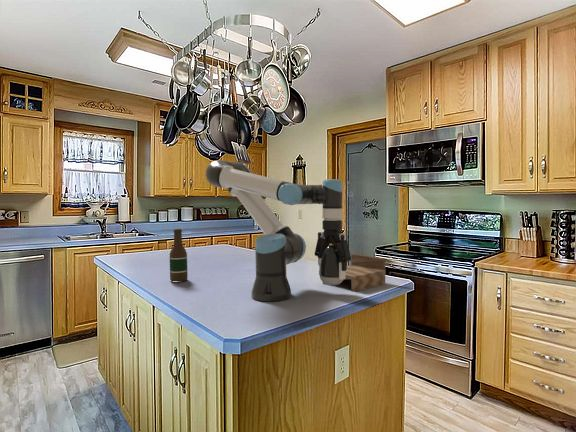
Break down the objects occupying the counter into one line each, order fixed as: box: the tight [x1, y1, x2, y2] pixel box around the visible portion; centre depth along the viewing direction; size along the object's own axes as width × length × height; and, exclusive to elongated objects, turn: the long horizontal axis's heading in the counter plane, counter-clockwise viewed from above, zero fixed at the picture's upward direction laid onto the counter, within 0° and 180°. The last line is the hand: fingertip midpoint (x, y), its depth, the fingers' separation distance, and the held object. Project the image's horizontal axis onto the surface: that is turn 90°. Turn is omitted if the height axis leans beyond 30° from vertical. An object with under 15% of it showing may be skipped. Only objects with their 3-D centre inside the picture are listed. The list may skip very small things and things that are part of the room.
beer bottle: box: [169, 228, 189, 282], centre depth 165 cm, size 8×8×24 cm
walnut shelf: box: [322, 253, 386, 293], centre depth 154 cm, size 20×18×11 cm
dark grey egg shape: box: [318, 244, 344, 286], centre depth 138 cm, size 10×10×15 cm
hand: (331, 276), depth 138 cm, fingers closed on dark grey egg shape, 10 cm apart
